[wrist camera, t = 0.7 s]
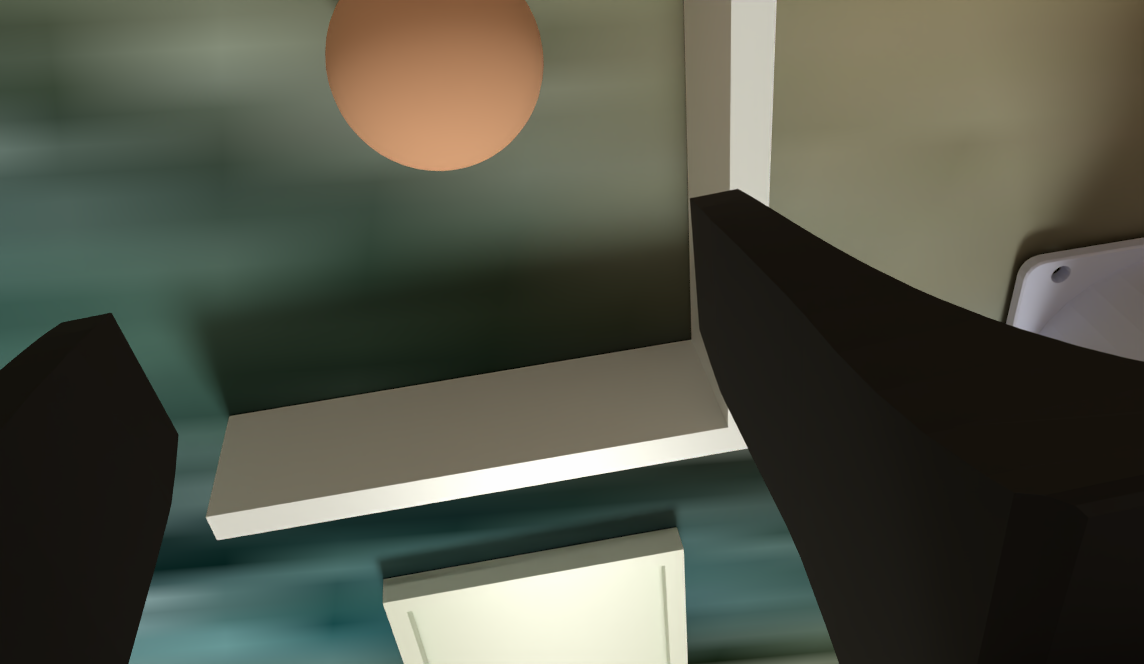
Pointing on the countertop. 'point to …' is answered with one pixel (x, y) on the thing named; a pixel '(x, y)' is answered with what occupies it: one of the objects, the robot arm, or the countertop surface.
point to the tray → (548, 606)
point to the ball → (435, 76)
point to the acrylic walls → (536, 393)
